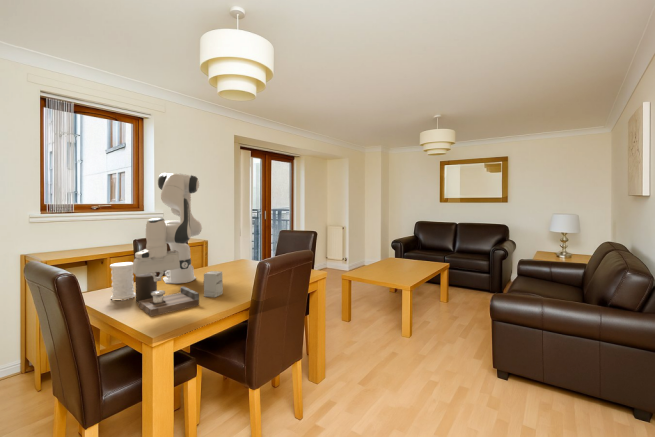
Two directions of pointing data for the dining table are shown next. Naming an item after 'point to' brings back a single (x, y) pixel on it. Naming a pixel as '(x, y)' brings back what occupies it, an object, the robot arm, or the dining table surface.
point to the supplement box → (213, 284)
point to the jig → (171, 302)
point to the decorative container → (122, 280)
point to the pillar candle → (145, 286)
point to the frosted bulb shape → (157, 296)
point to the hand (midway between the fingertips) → (157, 280)
